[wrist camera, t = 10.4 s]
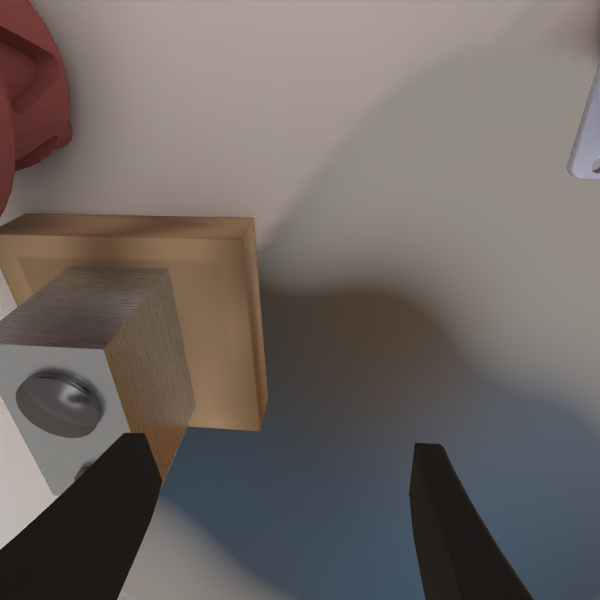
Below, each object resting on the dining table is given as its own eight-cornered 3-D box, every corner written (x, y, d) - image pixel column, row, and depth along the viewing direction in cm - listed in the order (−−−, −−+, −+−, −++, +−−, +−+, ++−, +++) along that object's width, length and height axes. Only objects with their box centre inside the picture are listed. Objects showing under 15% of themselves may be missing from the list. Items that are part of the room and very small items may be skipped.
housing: (196, 405, 22) (151, 510, 17) (115, 400, 22) (49, 501, 17) (168, 268, 18) (98, 355, 13) (70, 265, 18) (-35, 348, 13)
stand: (253, 218, 19) (241, 240, 17) (267, 397, 24) (260, 431, 22) (24, 213, 20) (-14, 234, 18) (89, 386, 25) (66, 418, 23)
